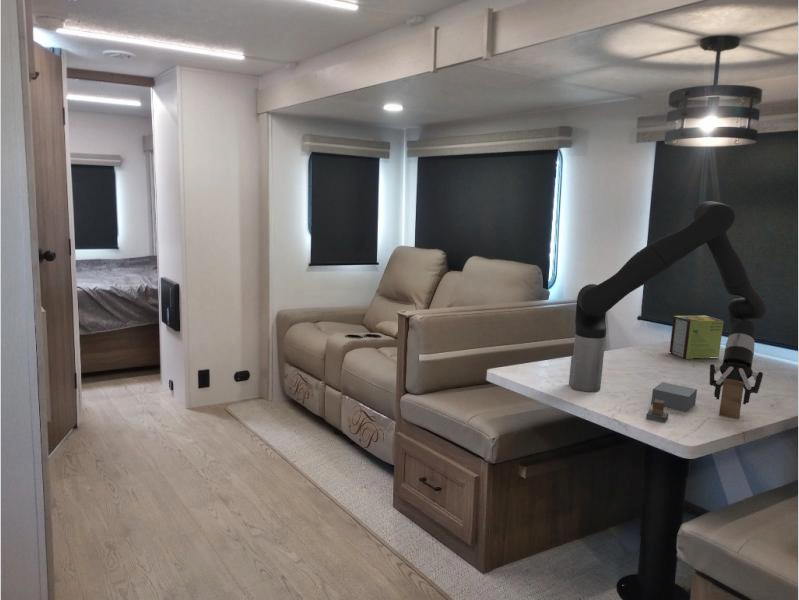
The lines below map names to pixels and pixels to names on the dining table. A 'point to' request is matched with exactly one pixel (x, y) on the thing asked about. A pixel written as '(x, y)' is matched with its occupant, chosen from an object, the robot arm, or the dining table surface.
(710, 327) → the protein box
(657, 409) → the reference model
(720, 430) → the dining table surface
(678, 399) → the slate base block
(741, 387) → the walnut block
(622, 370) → the dining table surface
